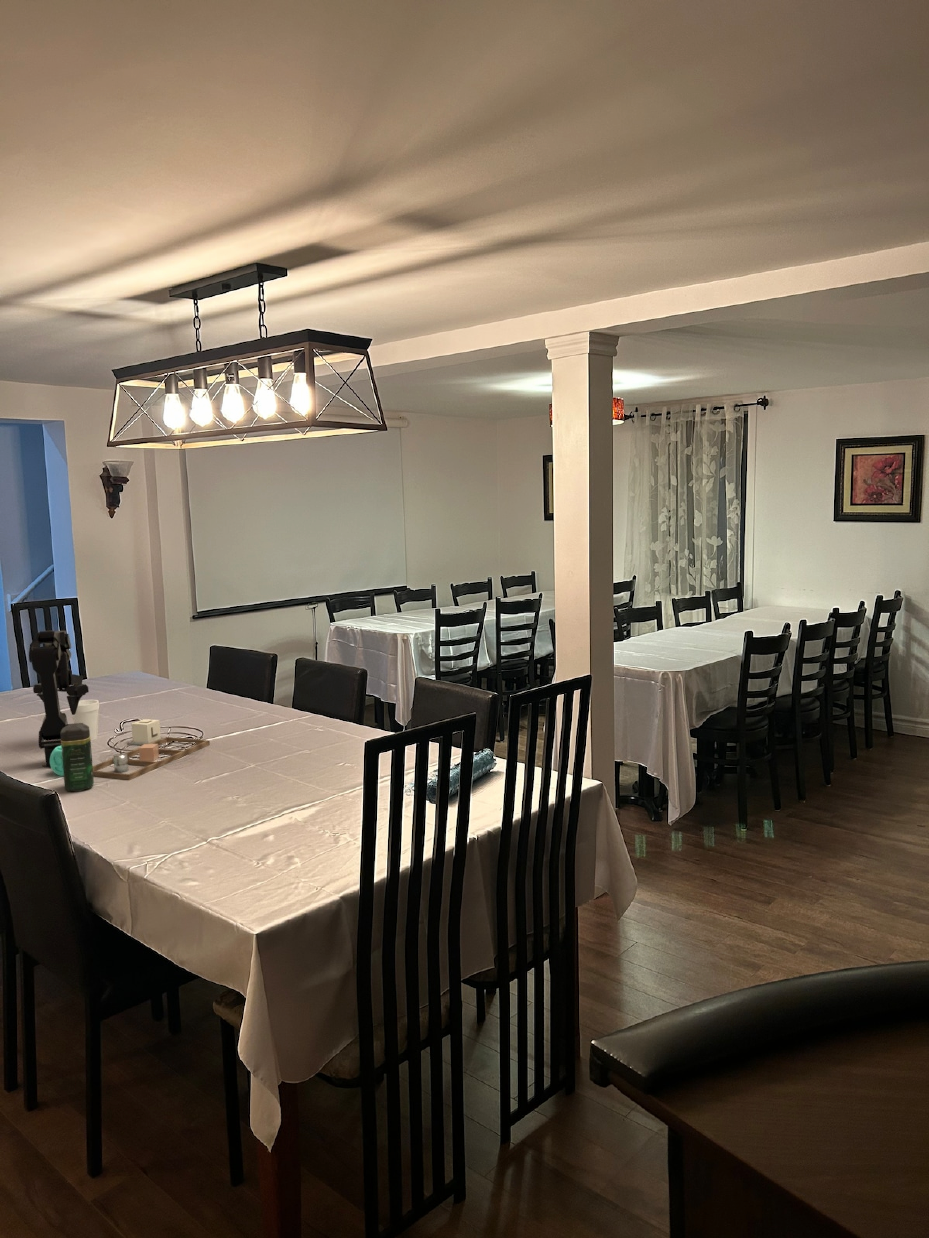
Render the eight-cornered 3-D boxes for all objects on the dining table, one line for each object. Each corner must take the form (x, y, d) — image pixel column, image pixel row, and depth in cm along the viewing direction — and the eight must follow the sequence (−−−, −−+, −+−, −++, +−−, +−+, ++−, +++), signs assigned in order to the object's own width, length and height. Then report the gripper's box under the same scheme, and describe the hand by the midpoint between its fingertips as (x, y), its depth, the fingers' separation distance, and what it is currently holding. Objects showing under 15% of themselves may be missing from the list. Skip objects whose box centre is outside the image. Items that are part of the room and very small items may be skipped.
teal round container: (90, 769, 280) (88, 744, 279) (72, 776, 273) (70, 751, 271) (68, 767, 282) (66, 742, 281) (50, 775, 275) (48, 749, 274)
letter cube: (148, 743, 306) (147, 724, 305) (132, 742, 308) (131, 723, 307) (161, 738, 312) (159, 719, 311) (145, 737, 314) (144, 718, 313)
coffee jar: (94, 789, 259) (88, 727, 257) (64, 793, 257) (58, 730, 254) (95, 780, 268) (89, 719, 266) (66, 784, 266) (60, 722, 263)
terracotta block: (154, 761, 287) (153, 747, 286) (140, 761, 287) (138, 748, 286) (158, 757, 291) (157, 743, 291) (145, 757, 291) (144, 744, 291)
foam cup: (77, 743, 310) (74, 707, 308) (69, 738, 317) (66, 702, 315) (105, 738, 316) (102, 702, 314) (97, 733, 323) (94, 698, 321)
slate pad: (148, 746, 304) (148, 744, 304) (127, 744, 307) (127, 742, 307) (166, 739, 313) (166, 737, 312) (145, 737, 316) (145, 736, 316)
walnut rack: (129, 779, 268) (129, 775, 268) (82, 775, 274) (82, 770, 274) (209, 744, 304) (209, 740, 304) (166, 741, 310) (166, 736, 310)
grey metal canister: (122, 773, 275) (121, 757, 274) (111, 772, 276) (110, 756, 275) (131, 769, 278) (130, 753, 278) (120, 768, 280) (119, 752, 279)
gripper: (98, 664, 305) (102, 709, 307) (55, 662, 312) (59, 706, 314) (74, 671, 295) (78, 717, 297) (30, 668, 301) (34, 714, 303)
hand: (63, 713), depth 303 cm, fingers open, 9 cm apart
